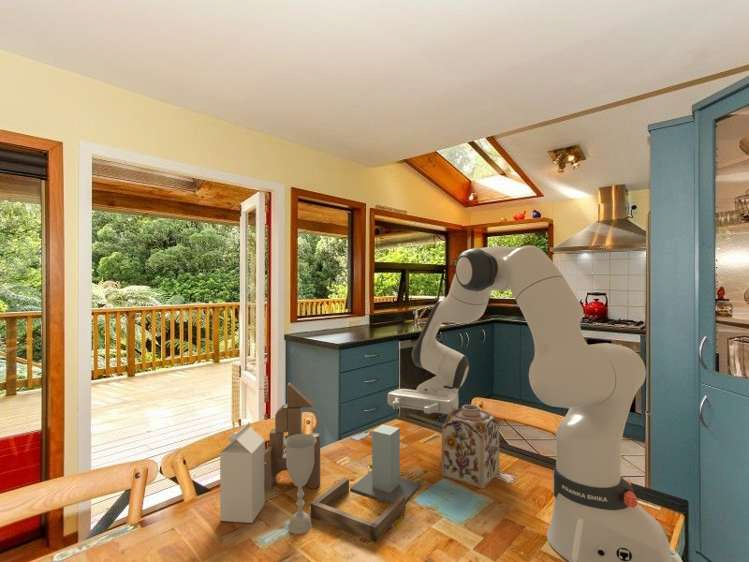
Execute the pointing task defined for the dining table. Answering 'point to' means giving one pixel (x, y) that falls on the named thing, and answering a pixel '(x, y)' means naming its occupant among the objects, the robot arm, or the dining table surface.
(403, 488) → the dark grey flat plate
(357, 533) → the wooden rectangular frame
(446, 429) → the decorative jar
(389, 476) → the block
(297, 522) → the chalice
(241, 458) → the milk carton
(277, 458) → the wooden toy
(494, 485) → the dining table surface
